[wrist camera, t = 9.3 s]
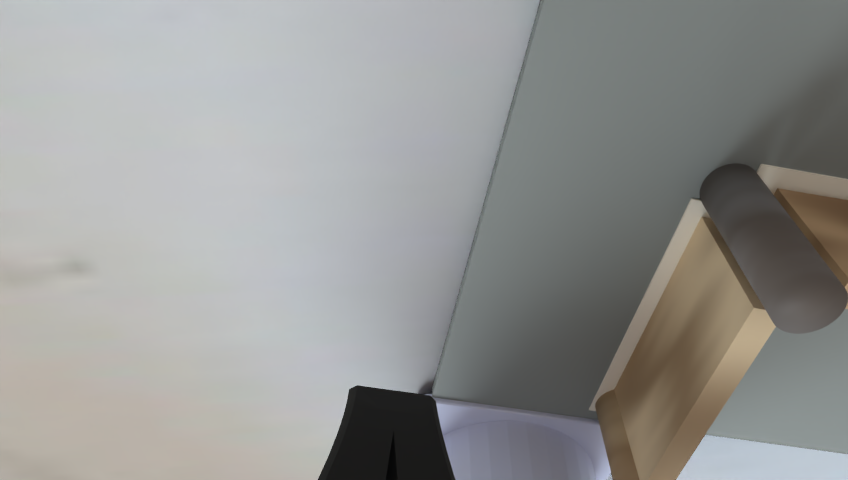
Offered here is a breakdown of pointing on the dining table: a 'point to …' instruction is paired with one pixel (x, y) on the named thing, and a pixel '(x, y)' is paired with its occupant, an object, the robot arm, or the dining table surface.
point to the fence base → (714, 324)
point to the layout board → (648, 201)
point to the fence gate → (821, 226)
